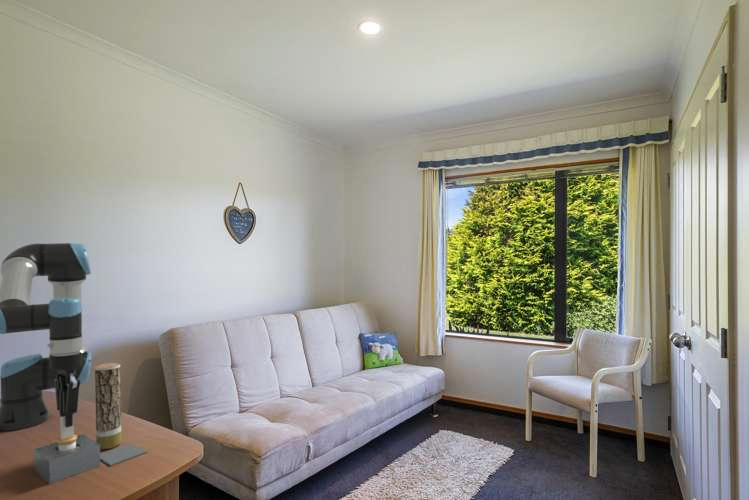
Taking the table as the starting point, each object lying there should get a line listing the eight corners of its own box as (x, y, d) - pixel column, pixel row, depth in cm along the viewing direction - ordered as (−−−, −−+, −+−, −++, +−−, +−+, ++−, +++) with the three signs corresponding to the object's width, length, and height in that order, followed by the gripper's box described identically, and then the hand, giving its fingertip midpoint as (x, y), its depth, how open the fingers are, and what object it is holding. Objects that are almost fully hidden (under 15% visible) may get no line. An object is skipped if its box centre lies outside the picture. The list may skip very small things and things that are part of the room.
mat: (96, 456, 128) (96, 455, 128) (131, 444, 136) (131, 443, 136) (110, 466, 122) (110, 464, 122) (146, 452, 130) (146, 451, 130)
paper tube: (109, 451, 131) (108, 369, 131) (90, 449, 133) (89, 368, 133) (126, 441, 138) (125, 363, 138) (108, 440, 139) (107, 362, 139)
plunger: (55, 463, 121) (54, 438, 121) (74, 456, 124) (73, 433, 124) (61, 467, 118) (60, 443, 118) (80, 461, 122) (79, 437, 122)
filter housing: (34, 470, 120) (34, 449, 120) (83, 454, 130) (83, 434, 130) (49, 484, 113) (49, 461, 113) (100, 465, 122) (100, 444, 122)
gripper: (42, 352, 122) (43, 436, 122) (58, 358, 114) (60, 448, 114) (72, 348, 128) (73, 427, 128) (90, 353, 120) (91, 438, 120)
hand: (67, 437), depth 121 cm, fingers closed
